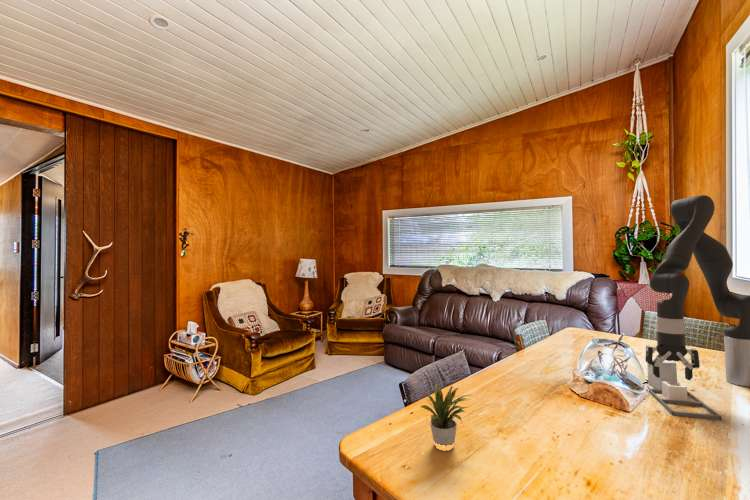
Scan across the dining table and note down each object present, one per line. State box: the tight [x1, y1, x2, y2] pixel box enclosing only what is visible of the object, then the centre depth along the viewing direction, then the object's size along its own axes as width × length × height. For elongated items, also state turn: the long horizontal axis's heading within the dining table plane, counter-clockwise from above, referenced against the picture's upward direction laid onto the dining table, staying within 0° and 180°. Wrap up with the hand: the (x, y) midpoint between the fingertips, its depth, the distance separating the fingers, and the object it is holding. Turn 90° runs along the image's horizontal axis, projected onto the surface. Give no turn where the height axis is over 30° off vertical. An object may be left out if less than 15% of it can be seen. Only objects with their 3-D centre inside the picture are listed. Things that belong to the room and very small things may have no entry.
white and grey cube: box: [661, 381, 688, 401], centre depth 120 cm, size 5×5×5 cm
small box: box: [646, 356, 678, 390], centre depth 129 cm, size 8×6×10 cm
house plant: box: [419, 383, 471, 446], centre depth 93 cm, size 14×14×16 cm
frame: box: [645, 379, 723, 421], centre depth 120 cm, size 30×12×1 cm, turn 159°
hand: (672, 378), depth 120 cm, fingers open, 8 cm apart
